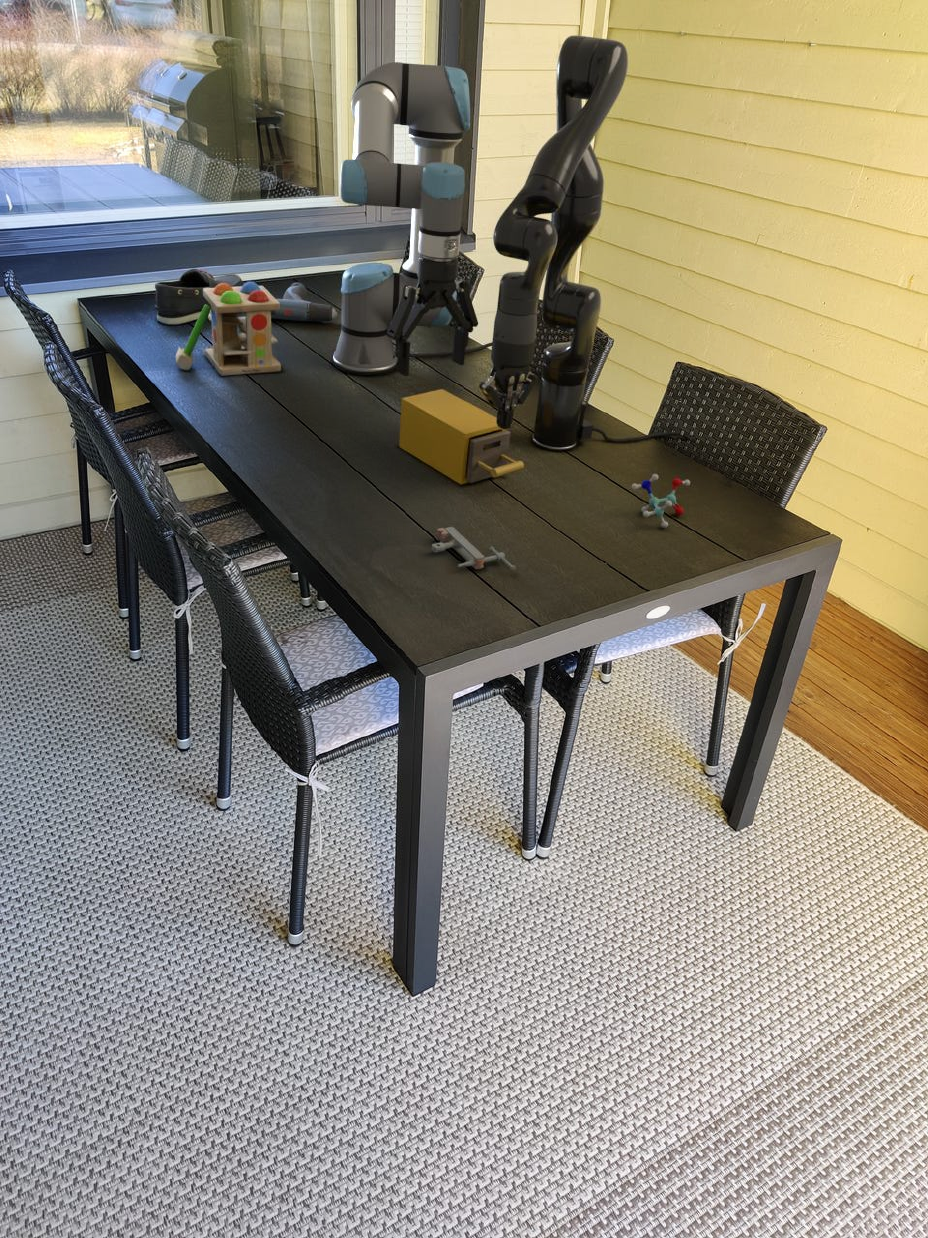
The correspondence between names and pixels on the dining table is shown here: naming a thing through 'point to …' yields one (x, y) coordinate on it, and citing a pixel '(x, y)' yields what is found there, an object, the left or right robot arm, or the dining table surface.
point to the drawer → (490, 456)
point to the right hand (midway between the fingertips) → (503, 427)
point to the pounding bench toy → (229, 347)
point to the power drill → (301, 307)
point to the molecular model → (654, 501)
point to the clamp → (465, 549)
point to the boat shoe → (187, 295)
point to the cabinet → (442, 430)
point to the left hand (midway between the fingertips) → (430, 368)
